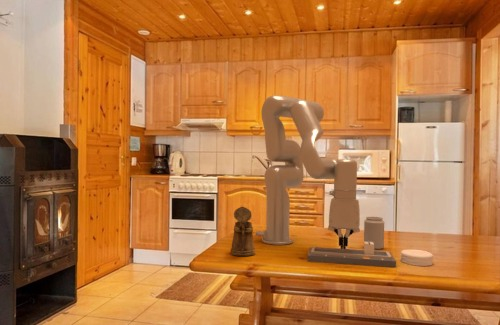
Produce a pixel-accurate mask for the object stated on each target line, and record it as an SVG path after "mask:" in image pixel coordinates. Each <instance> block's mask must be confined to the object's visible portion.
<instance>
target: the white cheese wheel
mask: <svg viewBox="0 0 500 325" xmlns="http://www.w3.org/2000/svg"><path fill="white" fill-rule="evenodd" d="M433 260H434V254H433V253H431V252H429V251H426V250H422V249H413V248H411V249H403V250H401V252H400V261H401V262H402V263H403V262H404V264H406V263H407V264H406V265H409V264H411V265H410V266H415V265H416V266H415V267H430V266H432V265H433V264H434V262H433Z"/></svg>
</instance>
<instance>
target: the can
mask: <svg viewBox="0 0 500 325" xmlns="http://www.w3.org/2000/svg"><path fill="white" fill-rule="evenodd" d="M368 241H369V242H373V243H374V251H380V250H382V249H383V248H384V247H385V221H384V220H383V217H380V216H366V217H365V220H364V222H363V243H364V242H368Z"/></svg>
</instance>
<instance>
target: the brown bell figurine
mask: <svg viewBox="0 0 500 325" xmlns="http://www.w3.org/2000/svg"><path fill="white" fill-rule="evenodd" d="M233 216H234V219H235V220H236V221H235V223H234V226H233V236H232V244H231V248H230V252H229V253H230V255H232V256H234V255H235V257H251V255H252V256H254V255H255V254H256V249H255V244H254V235H253V232H254V226H253V224H252V222H251V221H250V220H251V219H252V211H251V210H250V209H248V208H247V207H244V206H240V207H238V208H236V209H235V210H234V212H233Z"/></svg>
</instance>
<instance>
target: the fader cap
mask: <svg viewBox="0 0 500 325" xmlns="http://www.w3.org/2000/svg"><path fill="white" fill-rule="evenodd" d="M363 250H364V255H374V251H375V250H374V243H373V242H369V241H368V242H364V241H363Z"/></svg>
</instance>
